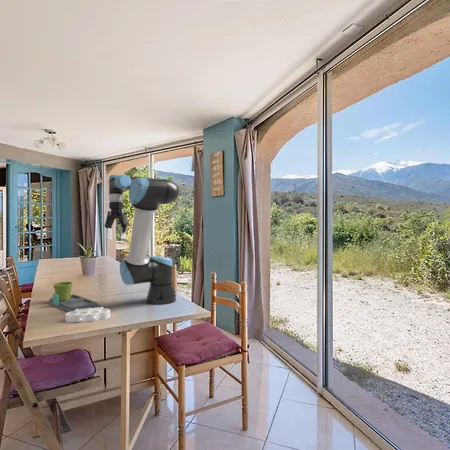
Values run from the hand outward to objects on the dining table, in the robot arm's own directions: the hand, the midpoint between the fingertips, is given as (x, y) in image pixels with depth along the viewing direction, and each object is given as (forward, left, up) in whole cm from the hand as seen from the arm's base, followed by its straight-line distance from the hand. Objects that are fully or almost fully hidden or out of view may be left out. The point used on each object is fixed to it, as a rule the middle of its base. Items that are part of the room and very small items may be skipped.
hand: (116, 239), depth 186 cm
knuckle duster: (-31, +32, -32) cm, 55 cm away
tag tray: (-4, +27, -31) cm, 41 cm away
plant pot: (+5, +28, -31) cm, 42 cm away
